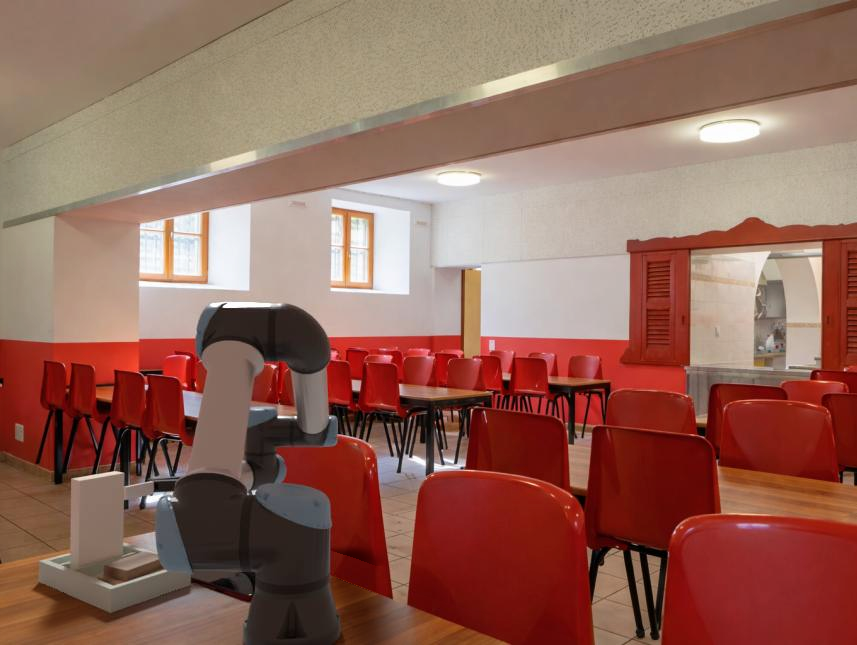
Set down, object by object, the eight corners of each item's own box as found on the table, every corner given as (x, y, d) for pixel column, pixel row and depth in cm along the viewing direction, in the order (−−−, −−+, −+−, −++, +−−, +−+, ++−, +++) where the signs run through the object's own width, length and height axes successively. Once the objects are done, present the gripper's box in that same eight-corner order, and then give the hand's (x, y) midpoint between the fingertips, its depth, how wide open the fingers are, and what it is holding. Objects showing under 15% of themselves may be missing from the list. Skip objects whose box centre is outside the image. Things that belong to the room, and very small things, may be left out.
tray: (190, 585, 134) (190, 564, 134) (110, 612, 121) (110, 589, 121) (117, 559, 148) (118, 540, 148) (38, 582, 135) (39, 560, 135)
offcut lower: (169, 579, 133) (169, 569, 133) (120, 596, 124) (120, 584, 124) (146, 572, 137) (147, 561, 137) (97, 587, 128) (97, 576, 128)
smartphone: (214, 553, 151) (300, 576, 136) (214, 561, 151) (299, 585, 136) (163, 569, 141) (249, 596, 126) (163, 577, 141) (249, 605, 126)
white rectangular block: (123, 564, 141) (124, 473, 141) (78, 577, 133) (79, 480, 133) (114, 561, 142) (115, 471, 142) (69, 574, 135) (71, 478, 135)
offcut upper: (166, 566, 134) (167, 556, 134) (126, 582, 126) (127, 570, 126) (144, 561, 137) (144, 551, 137) (103, 576, 129) (103, 565, 129)
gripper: (264, 505, 156) (181, 527, 139) (193, 488, 171) (109, 506, 153) (265, 470, 156) (182, 489, 139) (193, 456, 171) (110, 471, 153)
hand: (143, 498), depth 146 cm, fingers open, 13 cm apart
